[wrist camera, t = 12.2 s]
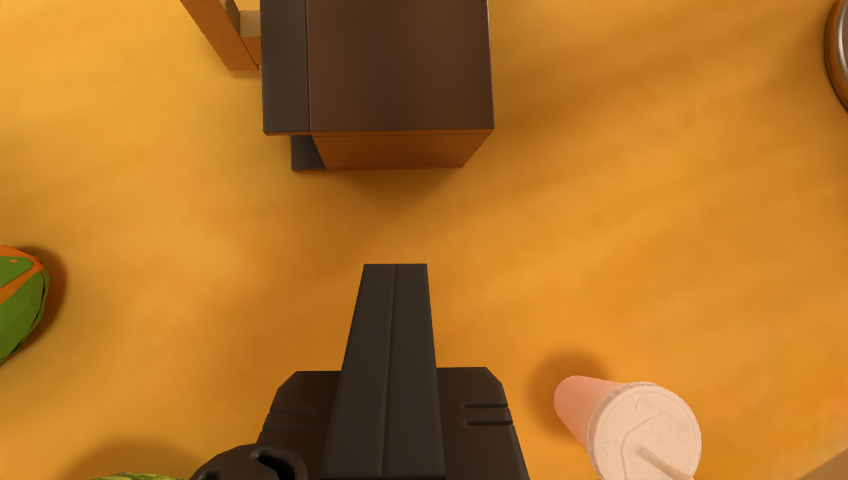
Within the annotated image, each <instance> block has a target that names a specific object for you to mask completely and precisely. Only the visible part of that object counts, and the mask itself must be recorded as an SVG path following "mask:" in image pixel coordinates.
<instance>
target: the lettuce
mask: <svg viewBox="0 0 848 480" xmlns="http://www.w3.org/2000/svg"><path fill="white" fill-rule="evenodd" d="M92 480H183V479H179V478H174V477H169V476H165V475H158V474H146V473H133V472H123V473H118V474H113V475H109V476H104V477H100V478H95V479H92Z"/></svg>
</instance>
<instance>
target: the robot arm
mask: <svg viewBox="0 0 848 480" xmlns="http://www.w3.org/2000/svg"><path fill="white" fill-rule="evenodd" d="M824 50H825V60H826V65H827V69H828V73H829V76H830V79H831V82H832V84H833V86H834V88H835V90H836V92H837V94H838V96H839V98H840V99H841V101H842V102H843V104H844V105H845V106H846V108H847V109H848V0H836V1H835V3H834V5H833V7H832V9H831V11H830V14H829V17H828V20H827V24H826V30H825V38H824ZM190 480H530V479H529V475H528V472H527V468H526V465H525V462H524V458H523V455H522V451H521V448H520V444H519V441H518V437H517V434H516V431H515V427H514V426H513V420H512V417H511V413H510V410H509V408H508V403H507V400H506V396H505V393H504V389H503V386H502V383H501V382H500V381H499V380H498V379H497V378H496V377H495V376H494V375H493V374H492V373H491V372H490V371H489V370H488V369H487V368H486V367H454V368H436V361H435V350H434V339H433V328H432V317H431V306H430V295H429V284H428V273H427V264H364V268H363V273H362V277H361V282H360V286H359V291H358V296H357V300H356V305H355V310H354V314H353V319H352V323H351V328H350V333H349V337H348V342H347V346H346V351H345V356H344V360H343V365H342V369H341V371H296V372H295V373H294V374H293V375H292V376H291V377H290V378H289V379H287V380H286V381H285V382H284V383H283V384H282V385H281V386H280V387H279V388H278V390H277V392H276V395H275V397H274V400H273V402H272V405H271V407H270V413H268V415H267V417H266V420H265V422H264V425H263V430H262V432H260V435H259V437H258V440H257V442H256V443H255V444H248V445H241V446H238V447H235V448H233V449H230V450H228V451H226V452H223V453H221V454H218V455H216V456H215V457H214V458H212V459H211V460H209V461H208V462H207V463H205V464H204V465H203V466H201V467H200V468H199V469H197V471H196V472H195V473H194V474H193V476H192V477H191V478H190Z"/></svg>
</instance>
